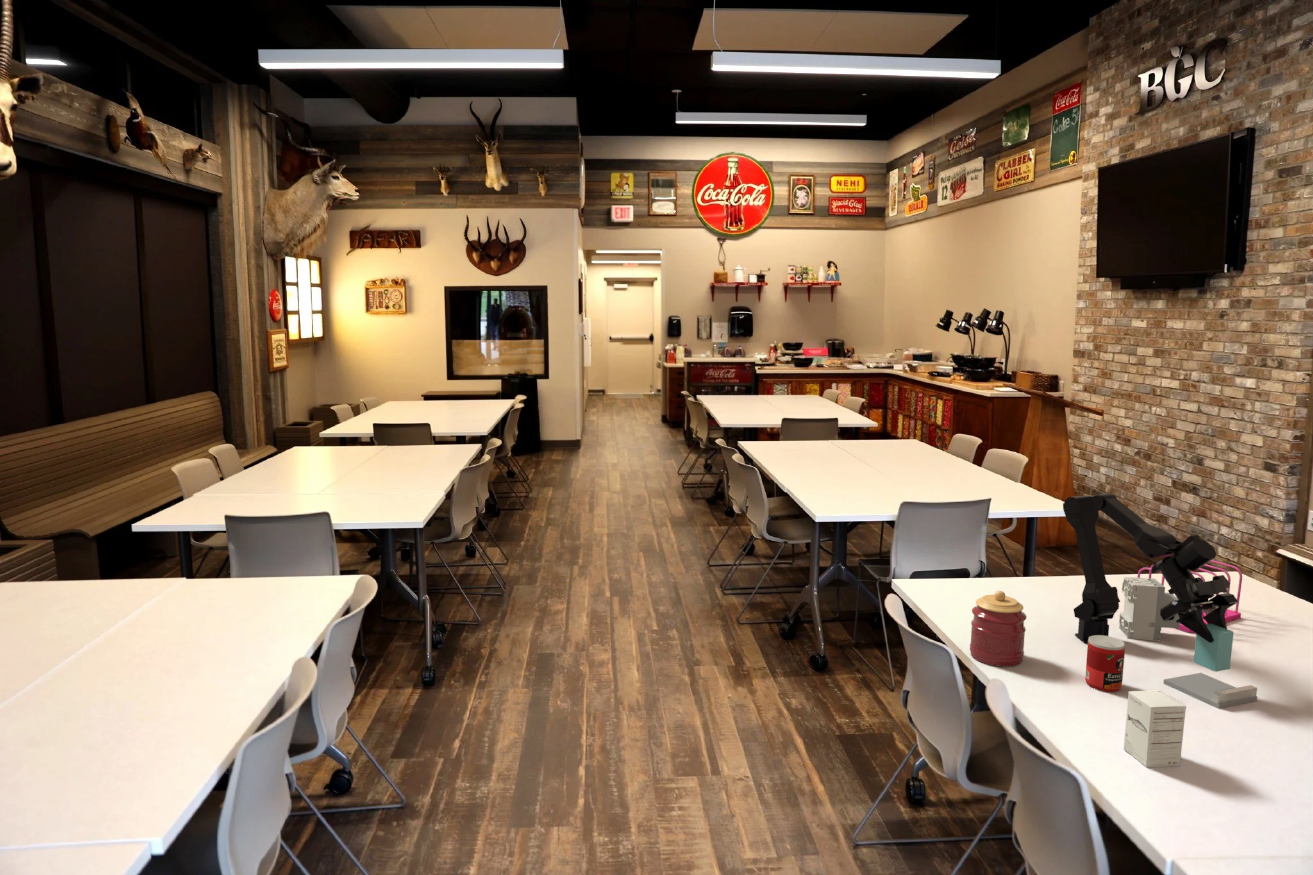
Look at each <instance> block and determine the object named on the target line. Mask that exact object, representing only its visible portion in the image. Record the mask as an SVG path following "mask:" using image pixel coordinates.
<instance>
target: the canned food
mask: <svg viewBox="0 0 1313 875" xmlns="http://www.w3.org/2000/svg"><path fill="white" fill-rule="evenodd" d="M1125 654H1126V643H1125V642H1124V641H1123V640H1121V639H1118V638H1116V637H1113V636H1110V635H1108V636H1103V635H1094V636H1090V637H1089V639H1088V644H1087V650H1086V663H1085V665H1086V666H1085V677H1084V678H1085V679H1084V680H1085V683H1086V685H1088V686H1089V687H1090V688H1092V689H1094V688H1095V689H1094V690H1097V691H1100V690H1101V691H1102V692H1108V693H1114V692H1115V693H1116V692H1119V691H1120V690H1121V689H1122V686H1123V678H1124V666H1125V657H1126V656H1125ZM1101 691H1100V692H1101Z"/></svg>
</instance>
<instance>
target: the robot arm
mask: <svg viewBox="0 0 1313 875" xmlns="http://www.w3.org/2000/svg"><path fill="white" fill-rule="evenodd" d="M1062 508H1063V513H1064V516H1065V518H1066V521H1067V522H1068V523H1069V525H1070V526H1071V527H1072V528H1073V529H1074V533H1075V536H1076V537H1075V538H1076V541H1077V545H1078V546H1077V547H1078V551H1079V555H1080V561H1081V565H1082V571H1083V576H1084V580H1085V583H1084V584H1085V585H1084V588H1083V590H1082V592H1081V599H1082V602H1081V603H1080V604H1079V605H1077V606H1076V607H1074V608H1073V613H1074V617H1075V618H1076V619H1078V628H1077V629H1078V630H1077V633H1074V636H1075V637H1076V638H1078V639H1079V640H1080V641H1081V642H1083V643H1084V644H1087V645H1088V639H1089V637H1090V636H1094V635H1103V636H1110V635H1109V633H1110V632H1109V631H1110V625H1109V622H1108V621H1109V620H1112V619H1113V618H1114V617H1115V614H1116V613H1117V611H1118V610H1119V608H1120V603H1121V599H1120V598H1119V594H1118V593H1119V592H1118V588H1117V586H1111V585H1110V583H1108V581H1107V579H1106V573H1105V569H1104V564H1103V560H1102V555H1101V549H1100V545H1099V540H1098V535H1097V531H1096V526H1097V524H1098V521H1099V518H1100V514H1099V512H1100V511H1101V512H1102V513H1103V514H1105V515H1106V516H1107V517H1108V518H1109V519H1111V521H1112V522H1114V523H1116V524H1117V525H1118V526H1119V527H1120V528H1121V529H1122V530H1124V531H1125V532H1126V533H1128V534H1129V535H1130V536H1131V537H1132V538H1133V540H1134V544H1135V546H1136V547H1137V548H1138V549H1139V551H1140V552H1141V553H1142V554H1143V555H1144V556H1146V557H1147V558H1149V559H1153V558H1162V557H1164V558H1163V559H1161V560H1155V561H1154V560H1153V561H1152V565H1153V566H1152V565H1151V566H1152V569H1151V572H1152V573H1151V574H1153V573H1159V572H1161V573H1160V574H1161V576H1162V575H1163V576H1164V578H1165V579H1164V580H1165V581H1166V583H1167V584H1168V587H1170V589H1168V590H1167V593H1170V594H1173V595H1174V596H1175V597H1177V599H1178V600H1176V601H1172V602H1171V603H1169V604H1168V605H1166V606H1164V607H1163V608H1161V609H1160V616H1161V617H1162V619H1163V621H1164V622H1165V621H1172V620H1174V615H1176V614H1178V615H1179V618H1180V619H1178V620H1176V622H1177V623H1180V624H1182V625H1184V626H1185V627H1187V628H1189V629H1190V630H1192V631H1193V633H1195V635H1196V634H1198V635H1199V636H1201V637H1202V638H1203V639H1205V640H1206V641H1208V642H1209V643H1212V642H1213V641H1214V639H1213V637H1212V635H1211V633H1210V631H1209V629H1208V628H1207V626H1206V624H1205V622H1204V621H1203V619H1204V620H1205V621H1206V622H1207V623H1208V624H1214V625H1217V626H1219V627H1222V628H1225V629H1228V626H1227V622H1226V621H1225V612H1226V609H1229V608H1231V607H1233V606H1236V603H1238V601H1237V597H1236V596H1235V594H1233V593H1230V592H1229V593H1228V591H1227V588H1229V587H1230V588H1231V582H1230V583H1229V582H1228V578H1227V577H1225V575H1224V574H1223V575H1217V576H1214V575H1213V576H1212V580H1207V581H1206V580H1205V581H1206V582H1203V580H1202V579H1201V578H1200V577H1199V576H1198V577H1195V575H1194V574H1192V573H1191V571H1192V572H1196V571H1199V570H1198V569H1199V568H1201V569H1202V567H1205V566H1204V565H1205V564H1207V565H1208V563H1209V562H1210V561H1211V560H1214V559H1215V558H1216V557H1217V552H1216V549H1215V547H1214V546H1213V545H1212V544H1210V543H1209V542H1208V541H1207V540H1204V539H1203V538H1200V536H1199V535H1198V534H1191V535H1189V536H1187V538H1186V539H1185V540H1184V541H1181V540H1178V539H1176V537H1175V536H1174V535H1173V534H1171V533H1170V532H1169V531H1166V530H1164V529H1163V528H1160V527H1158V526H1155V525H1151V524H1150V523H1148V522H1146V521H1145V520H1144V519H1143V518H1141V517H1140V516H1139V515H1138V514H1136V513H1135V512H1134V511H1133V510H1131V509H1130V508H1129V507H1128V506H1127V505H1125V504H1124V503H1123V502H1121V501H1120V499H1118V498H1117V496H1116V495H1115V494H1113V493H1098V494H1096V495H1093V496H1092V495H1078V496H1077V495H1076V496H1069V497H1067V498H1066V499H1065V500H1064V502H1063V503H1062ZM1210 563H1211V562H1210ZM1216 594H1218V595H1216ZM1202 610H1203V611H1204V612H1205V614H1206V615H1205V616H1204V617H1203V619H1202Z"/></svg>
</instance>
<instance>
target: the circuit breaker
mask: <svg viewBox="0 0 1313 875" xmlns="http://www.w3.org/2000/svg"><path fill="white" fill-rule="evenodd" d="M1121 593H1123V597H1124V602H1123V611H1122V612H1119V619H1118V624H1119V625H1118V626H1119V627H1118V630H1119V629H1120V630H1119V631H1120V632H1121V633H1122V634H1123V636H1125V638H1126V639H1132V638H1133V639H1132V640H1144V641H1145V640H1147V641H1158V640H1160V641H1161V638H1162V634H1161V632H1162V628H1165V629H1176V628H1178V629H1177V630H1179V628H1180V623H1177V622H1176V620H1178V619H1180V618H1179V615H1178V614H1176V615H1174V620H1172V621H1165V622H1164V621H1163V619H1162V617H1161V616H1160V609H1161V608H1163V607H1164V606H1166V605H1168V604H1169V603H1171V602H1172V601H1176V600H1178V599H1177V597H1176V595H1175V594H1170V593H1169V592H1166V586H1163V585H1162V584H1161V583H1160V582H1159V580H1157V579H1155V578H1152V577H1151V578H1149V577H1140V578H1137V577H1132V576H1128V577H1127V576H1123V581H1122V584H1121Z"/></svg>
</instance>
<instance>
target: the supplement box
mask: <svg viewBox="0 0 1313 875" xmlns="http://www.w3.org/2000/svg"><path fill="white" fill-rule="evenodd" d="M1127 696H1128V698H1127V708H1126V720H1125V729H1124V738H1123V739H1124V740H1123V750H1124V751H1126V752H1127V753H1129V754H1130V755H1131V756H1133V757H1134V758H1135V759H1136V760H1137V761H1138V762H1140V763H1141V764H1142V765H1143V766H1145V768H1162V767H1163V768H1166V767H1180V766H1181V760H1182V759H1181V758H1182V750H1183V749H1182V747H1183V740H1184V729H1185V718H1186V709H1187V706H1186V705H1185V704H1183V703H1181V702H1180V701H1179V700H1176V699H1175V698H1174V697H1172V696H1171V695H1169V694H1168V693H1166V692H1165V691H1163V690H1162V689H1153V690H1147V689H1146V690H1133V691H1132V690H1131V691H1128V695H1127Z"/></svg>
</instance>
